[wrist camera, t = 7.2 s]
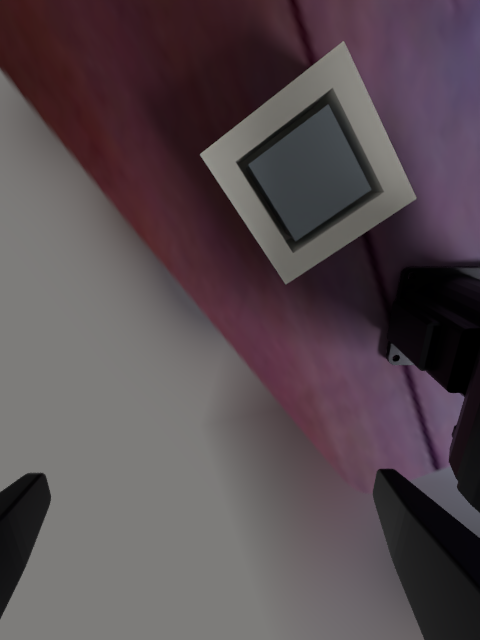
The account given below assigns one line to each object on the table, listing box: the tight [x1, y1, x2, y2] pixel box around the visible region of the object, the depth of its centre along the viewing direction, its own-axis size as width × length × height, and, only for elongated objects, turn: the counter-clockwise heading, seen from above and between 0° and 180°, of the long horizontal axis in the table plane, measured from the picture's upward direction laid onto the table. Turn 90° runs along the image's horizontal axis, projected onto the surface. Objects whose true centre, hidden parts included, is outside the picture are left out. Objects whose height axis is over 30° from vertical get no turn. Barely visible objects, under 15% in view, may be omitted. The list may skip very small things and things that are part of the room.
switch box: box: [200, 41, 417, 284], centre depth 17 cm, size 7×7×4 cm
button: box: [246, 104, 372, 241], centre depth 16 cm, size 4×4×3 cm
